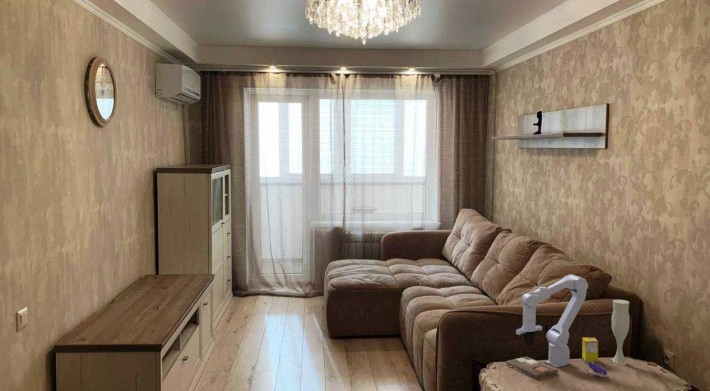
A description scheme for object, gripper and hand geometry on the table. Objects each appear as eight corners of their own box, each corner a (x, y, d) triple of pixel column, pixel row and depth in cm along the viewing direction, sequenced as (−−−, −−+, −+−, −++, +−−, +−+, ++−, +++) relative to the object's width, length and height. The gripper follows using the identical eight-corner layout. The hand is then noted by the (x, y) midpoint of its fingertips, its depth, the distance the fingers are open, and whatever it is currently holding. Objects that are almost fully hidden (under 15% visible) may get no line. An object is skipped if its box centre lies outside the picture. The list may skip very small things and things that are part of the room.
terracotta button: (541, 371, 264) (541, 366, 264) (548, 375, 260) (549, 369, 260) (534, 373, 262) (534, 368, 262) (541, 376, 258) (541, 371, 258)
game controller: (613, 367, 259) (607, 369, 251) (606, 383, 260) (599, 385, 252) (592, 356, 265) (585, 357, 258) (586, 371, 266) (578, 373, 259)
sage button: (521, 362, 275) (522, 357, 275) (528, 365, 272) (528, 360, 271) (515, 364, 274) (515, 359, 273) (521, 367, 270) (521, 362, 269)
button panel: (526, 360, 279) (526, 356, 278) (557, 374, 261) (558, 370, 261) (506, 365, 273) (506, 361, 273) (536, 379, 255) (536, 375, 255)
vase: (632, 365, 270) (634, 304, 268) (614, 365, 271) (616, 304, 268) (623, 359, 279) (625, 299, 277) (606, 359, 279) (608, 299, 277)
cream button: (531, 364, 270) (531, 359, 269) (538, 367, 266) (538, 362, 265) (524, 366, 268) (524, 361, 267) (531, 369, 264) (531, 364, 264)
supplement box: (594, 359, 280) (594, 337, 279) (598, 363, 274) (598, 341, 273) (581, 358, 280) (582, 337, 280) (585, 363, 274) (585, 341, 274)
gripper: (534, 314, 276) (534, 342, 277) (511, 318, 270) (511, 346, 271) (545, 318, 270) (544, 346, 271) (522, 322, 263) (521, 351, 265)
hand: (528, 346), depth 270 cm, fingers closed
